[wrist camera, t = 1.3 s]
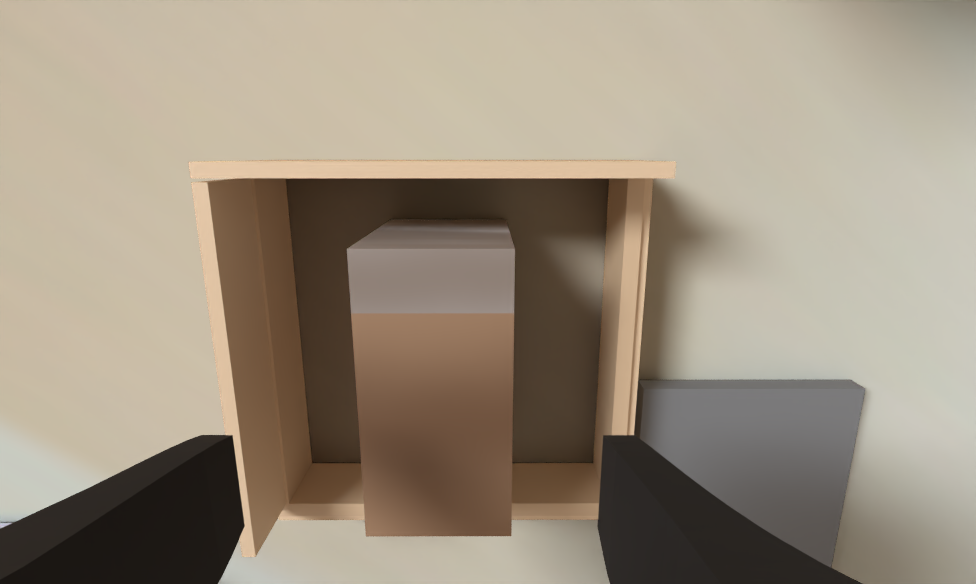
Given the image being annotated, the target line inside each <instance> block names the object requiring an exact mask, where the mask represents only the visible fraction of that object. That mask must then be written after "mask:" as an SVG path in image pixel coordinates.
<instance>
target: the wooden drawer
mask: <svg viewBox="0 0 976 584" xmlns="http://www.w3.org/2000/svg"><path fill="white" fill-rule="evenodd" d="M188 163H189V170H190V178H235V179H224V180H213V181H201V182H191V185H192V192H193V200H194V207H195V214H196V222H197V229H198V236H199V244H200V251H201V259H202V266H203V273H204V281H205V288H206V295H207V303H208V310H209V317H210V325H211V332H212V339H213V347H214V354H215V361H216V369H217V376H218V383H219V391H220V398H221V405H222V413H223V420H224V428H225V435H233V442H234V449H235V457H236V464H237V472H238V479H239V487H240V494H241V502H242V509H243V517H244V524H245V527H244V529H243V531H242V533H241V536H240V545H241V552H242V557H256V555H257V553H258V552H259V550H260V548H261V546H262V545H263V543H264V541H265V540H266V538H267V536H268V534H269V533H270V531H271V529H272V527H273V526H274V524H275V522H276V520H277V519H278V517H279V520H365V514H364V499H363V485H362V470H361V463H312V457H311V446H310V435H309V425H308V414H307V403H306V392H305V381H304V371H303V360H302V349H301V338H300V327H299V317H298V306H297V295H296V284H295V273H294V263H293V252H292V241H291V230H290V219H289V208H288V198H287V187H286V178H609V189H608V207H607V225H606V243H605V261H604V279H603V297H602V315H601V333H600V350H599V368H598V386H597V404H596V422H595V440H594V458H593V463H512V518H511V520H598V512H599V496H600V479H601V462H602V446H603V435H634V427H635V413H636V400H637V387H638V374H639V361H640V348H641V334H642V321H643V308H644V295H645V282H646V268H647V255H648V242H649V229H650V216H651V203H652V189H653V178H675V170H676V162H668V161H643V160H252V161H197V162H188Z"/></svg>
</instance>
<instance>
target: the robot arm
mask: <svg viewBox="0 0 976 584" xmlns="http://www.w3.org/2000/svg"><path fill="white" fill-rule="evenodd" d="M244 527H245V524H244V517H243V509H242V502H241V494H240V487H239V479H238V472H237V464H236V457H235V449H234V442H233V435H201V436H198V437H195V438H192V439H190V440H187V441H185V442H182V443H180V444H178V445H176V446H174V447H171V448H169V449H167V450H165V451H163V452H161V453H159V454H157V455H155V456H153V457H150V458H148V459H146V460H144V461H142V462H140V463H138V464H136V465H134V466H132V467H130V468H128V469H126V470H124V471H122V472H120V473H118V474H116V475H114V476H112V477H110V478H108V479H106V480H104V481H102V482H100V483H98V484H96V485H94V486H92V487H90V488H88V489H86V490H83V491H81V492H79V493H77V494H75V495H73V496H70V497H68V498H66V499H64V500H62V501H60V502H57V503H55V504H53V505H51V506H49V507H47V508H44V509H42V510H40V511H38V512H36V513H34V514H32V515H29V516H27V517H25V518H23V519H21V520H19V521H16V522H14V523H0V584H218V582H219V580H220V579H221V577H222V575H223V573H224V571H225V569H226V567H227V565H228V562H229V560H230V558H231V556H232V554H233V552H234V550H235V547H236V545H237V543H238V540H239V538H240V536H241V533H242V531H243V529H244ZM598 530H599V535H600V540H601V546H602V551H603V556H604V560H605V565H606V569H607V574H608V578H609V581H610V584H862V583H860V582H858V581H856V580H854V579H852V578H850V577H848V576H846V575H844V574H842V573H840V572H838V571H836V570H834V569H832V568H830V567H829V566H827V565H825V564H823V563H821V562H819V561H817V560H816V559H814V558H812V557H810V556H809V555H807V554H805V553H803V552H802V551H800V550H798V549H796V548H795V547H793V546H791V545H789V544H788V543H786V542H784V541H782V540H781V539H779V538H777V537H776V536H774V535H773V534H771V533H769V532H768V531H766V530H764V529H763V528H761V527H760V526H758V525H757V524H755V523H754V522H752V521H751V520H749V519H748V518H746V517H745V516H743V515H742V514H740V513H739V512H737V511H736V510H734V509H733V508H731V507H730V506H728V505H727V504H725V503H724V502H723V501H721V500H720V499H718V498H717V497H716V496H714V495H713V494H711V493H710V492H709V491H707V490H706V489H705V488H703V487H702V486H701V485H699V484H698V483H697V482H695V481H694V480H693V479H691V478H690V477H689V476H687V475H686V474H685V473H683V472H682V471H681V470H680V469H678V468H677V467H676V466H674V465H673V464H672V463H671V462H669V461H668V460H667V459H666V458H664V457H663V456H662V455H660V454H659V453H658V452H657V451H655V450H654V449H653V448H652V447H650V446H649V445H648V444H646V443H645V442H644V441H642V440H641V439H640V438H638V437H637V436H635V435H603V446H602V462H601V479H600V496H599V512H598Z"/></svg>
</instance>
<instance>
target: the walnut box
mask: <svg viewBox="0 0 976 584" xmlns="http://www.w3.org/2000/svg"><path fill="white" fill-rule="evenodd" d="M347 260H348V275H349V290H350V305H351V320H352V335H353V350H354V365H355V380H356V395H357V410H358V425H359V440H360V455H361V470H362V485H363V499H364V514H365V529H366V536H511V518H512V441H513V364H514V287H515V247H514V244H513V241H512V238H511V234H510V231H509V228H508V225H507V221H506V220H389V221H388V222H386V223H385V224H383V225H382V226H380V227H379V228H377V229H376V230H374V231H373V232H371V233H370V234H368V235H367V236H365V237H364V238H362V239H361V240H359V241H358V242H356V243H355V244H353V245H352V246H350V247H349V248H347Z"/></svg>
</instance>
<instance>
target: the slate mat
mask: <svg viewBox="0 0 976 584" xmlns="http://www.w3.org/2000/svg"><path fill="white" fill-rule="evenodd" d="M864 394H865V388H863V387H862V386H860V385H858V384H857V383H855V382H853V381H852V380H638V387H637V400H636V413H635V427H634V435H635V436H637V437H638V438H640V439H641V440H642V441H644V442H645V443H646V444H648V445H649V446H650V447H652V448H653V449H654V450H655V451H657V452H658V453H659V454H660V455H662V456H663V457H664V458H666V459H667V460H668V461H669V462H671V463H672V464H673V465H674V466H676V467H677V468H678V469H680V470H681V471H682V472H683V473H685V474H686V475H687V476H689V477H690V478H691V479H693V480H694V481H695V482H697V483H698V484H699V485H701V486H702V487H703V488H705V489H706V490H707V491H709V492H710V493H711V494H713V495H714V496H716V497H717V498H718V499H720V500H721V501H723V502H724V503H725V504H727V505H728V506H730V507H731V508H733V509H734V510H736V511H737V512H739V513H740V514H742V515H743V516H745V517H746V518H748V519H749V520H751V521H752V522H754V523H755V524H757V525H758V526H760V527H761V528H763V529H764V530H766V531H768V532H769V533H771V534H773V535H774V536H776V537H777V538H779V539H781V540H782V541H784V542H786V543H788V544H789V545H791V546H793V547H795V548H796V549H798V550H800V551H802V552H803V553H805V554H807V555H809V556H810V557H812V558H814V559H816V560H817V561H819V562H821V563H823V564H825V565H827V566H829V567H830V568H831V566H832V561H833V555H834V550H835V545H836V540H837V535H838V529H839V524H840V519H841V514H842V508H843V503H844V498H845V493H846V488H847V482H848V477H849V472H850V467H851V462H852V456H853V451H854V446H855V441H856V435H857V430H858V425H859V420H860V415H861V409H862V404H863V399H864Z"/></svg>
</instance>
